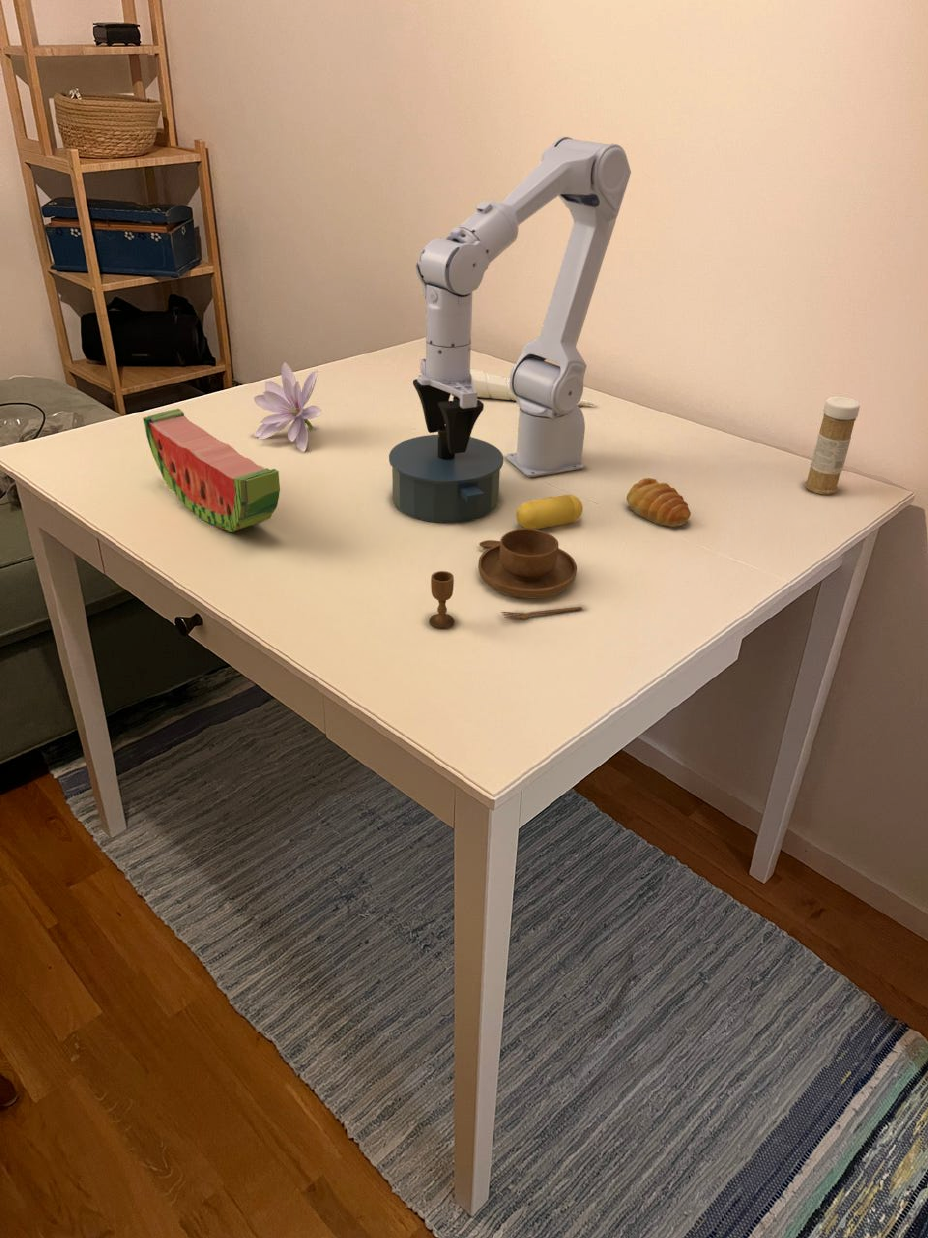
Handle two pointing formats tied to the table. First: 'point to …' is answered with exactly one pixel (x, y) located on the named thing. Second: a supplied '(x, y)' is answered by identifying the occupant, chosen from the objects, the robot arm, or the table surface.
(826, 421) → the sprinkles bottle
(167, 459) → the fruit slice
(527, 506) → the yellow rounded capsule
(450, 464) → the pot lid
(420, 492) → the pot
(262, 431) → the water lily
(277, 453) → the table surface
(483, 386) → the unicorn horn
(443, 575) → the place setting
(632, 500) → the pastry
